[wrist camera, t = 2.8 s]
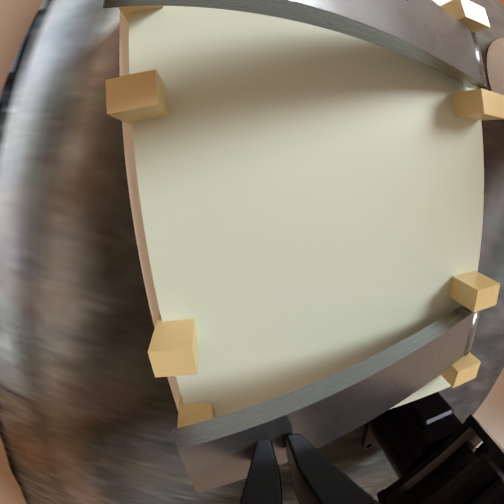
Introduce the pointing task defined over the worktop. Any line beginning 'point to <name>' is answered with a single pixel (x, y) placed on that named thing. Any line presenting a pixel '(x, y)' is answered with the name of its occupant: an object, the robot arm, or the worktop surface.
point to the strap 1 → (372, 27)
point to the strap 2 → (324, 403)
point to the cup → (496, 66)
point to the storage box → (294, 199)
